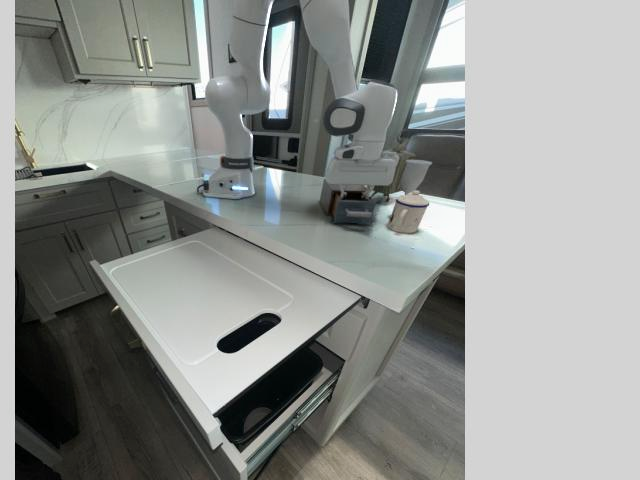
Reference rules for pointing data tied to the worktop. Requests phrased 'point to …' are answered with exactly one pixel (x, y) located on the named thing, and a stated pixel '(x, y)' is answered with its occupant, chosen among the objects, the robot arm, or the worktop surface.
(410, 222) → the teacup with lid
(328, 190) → the cabinet
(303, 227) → the worktop surface
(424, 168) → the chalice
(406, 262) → the worktop surface
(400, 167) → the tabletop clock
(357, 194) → the drawer
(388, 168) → the robot arm
